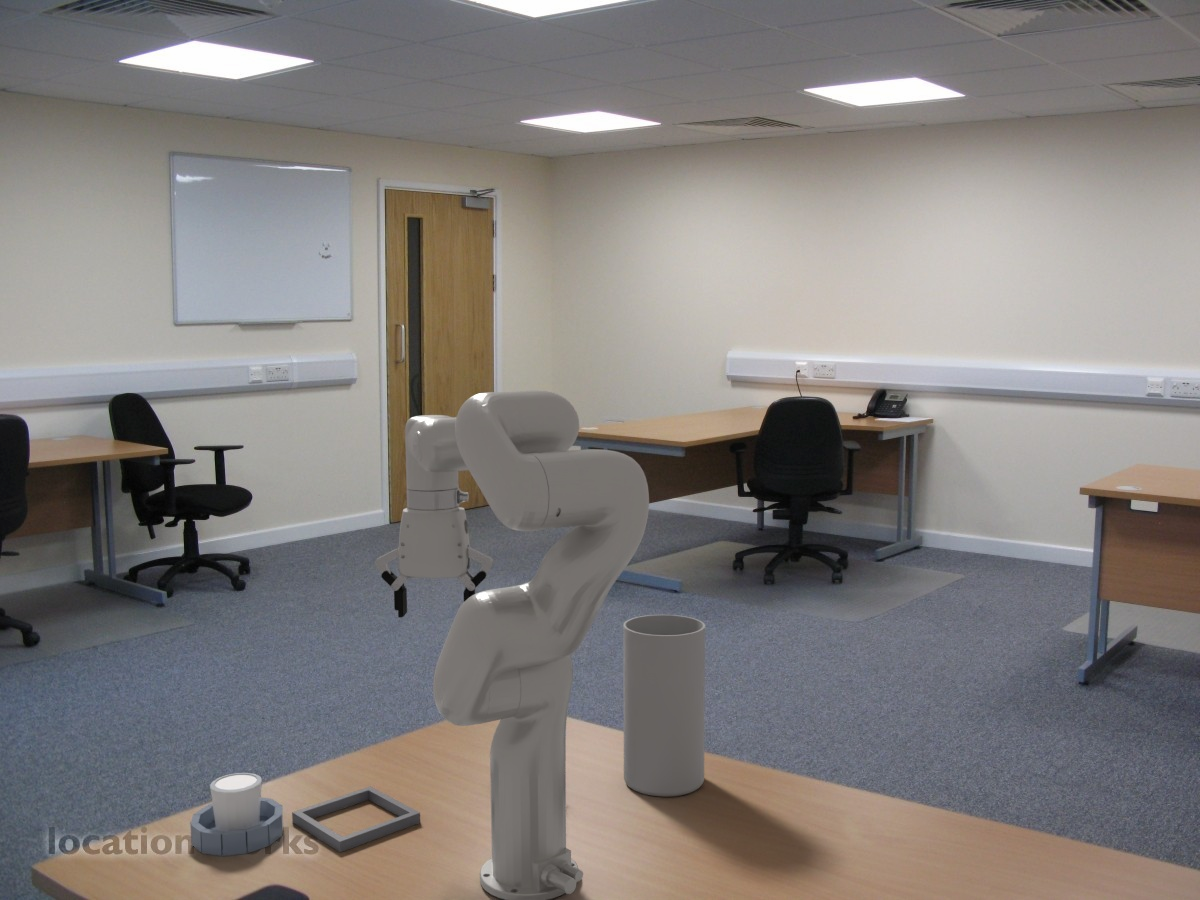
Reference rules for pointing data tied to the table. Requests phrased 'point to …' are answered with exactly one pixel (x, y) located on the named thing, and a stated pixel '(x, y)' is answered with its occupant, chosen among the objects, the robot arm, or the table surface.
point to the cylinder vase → (664, 704)
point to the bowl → (237, 831)
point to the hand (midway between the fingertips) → (435, 615)
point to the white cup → (236, 801)
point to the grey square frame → (405, 820)
